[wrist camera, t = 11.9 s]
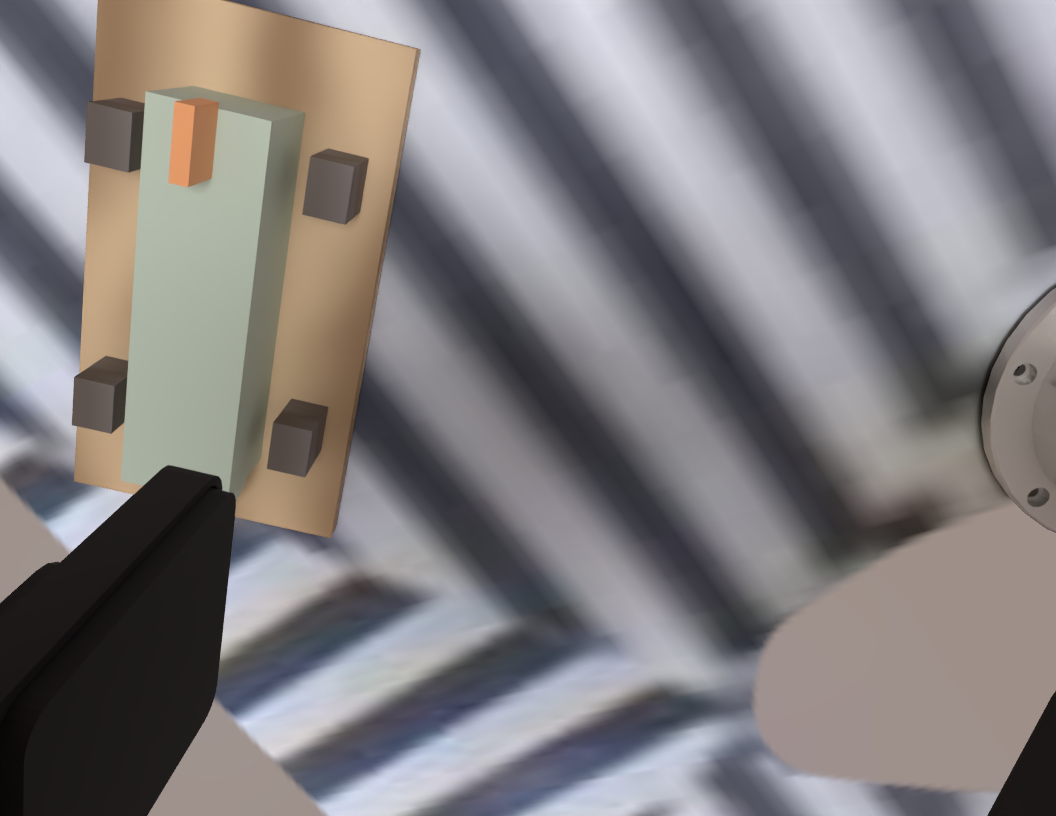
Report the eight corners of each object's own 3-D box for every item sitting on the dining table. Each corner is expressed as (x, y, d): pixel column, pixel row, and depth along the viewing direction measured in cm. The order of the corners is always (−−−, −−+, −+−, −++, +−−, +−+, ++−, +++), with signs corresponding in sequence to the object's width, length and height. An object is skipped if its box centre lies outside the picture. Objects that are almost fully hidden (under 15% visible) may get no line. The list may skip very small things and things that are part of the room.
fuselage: (306, 106, 32) (252, 119, 27) (255, 500, 38) (203, 577, 33) (194, 79, 32) (116, 87, 26) (161, 479, 38) (92, 554, 32)
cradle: (420, 49, 32) (404, 49, 29) (336, 526, 40) (315, 569, 36) (113, -29, 32) (61, -37, 28) (85, 470, 39) (42, 509, 36)
